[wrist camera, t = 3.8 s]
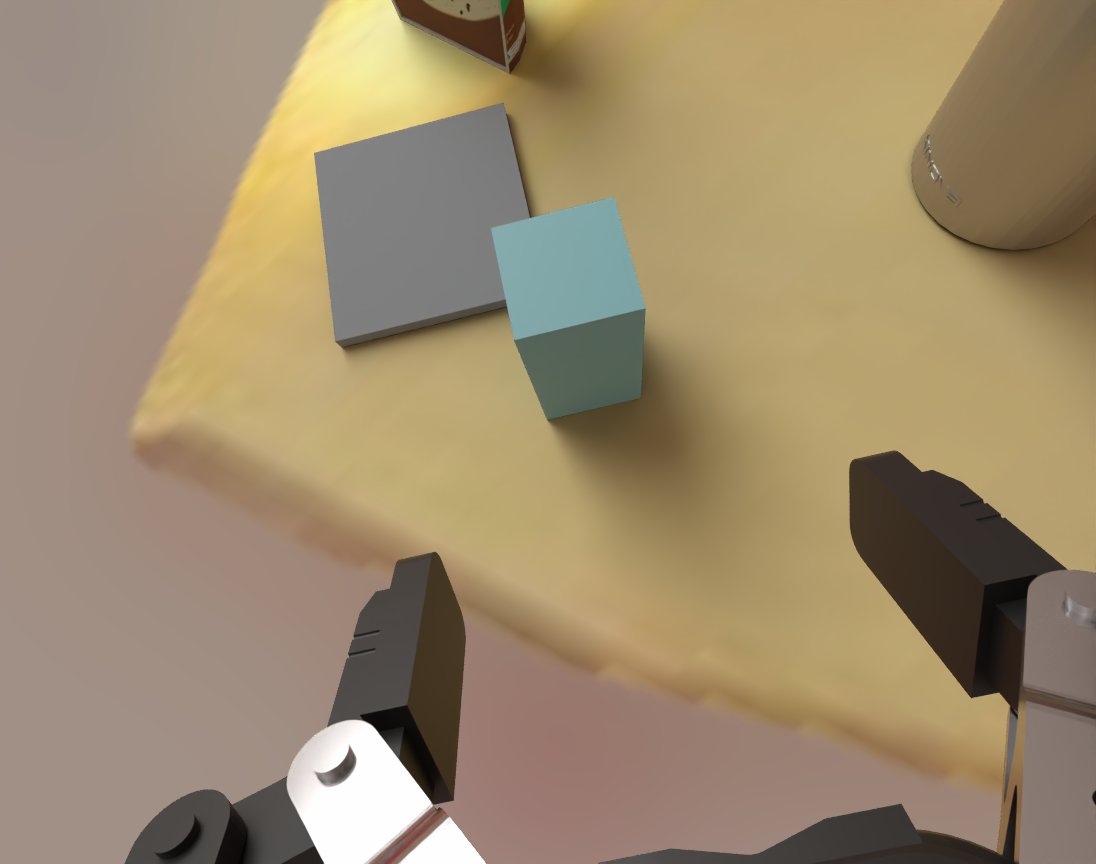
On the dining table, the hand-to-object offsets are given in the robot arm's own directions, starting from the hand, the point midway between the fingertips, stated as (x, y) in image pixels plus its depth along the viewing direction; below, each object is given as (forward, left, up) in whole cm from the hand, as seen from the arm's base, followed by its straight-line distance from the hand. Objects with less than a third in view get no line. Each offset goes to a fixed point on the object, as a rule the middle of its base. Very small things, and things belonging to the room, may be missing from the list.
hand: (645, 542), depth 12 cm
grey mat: (+7, -23, -19) cm, 30 cm away
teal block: (0, -12, -19) cm, 22 cm away
